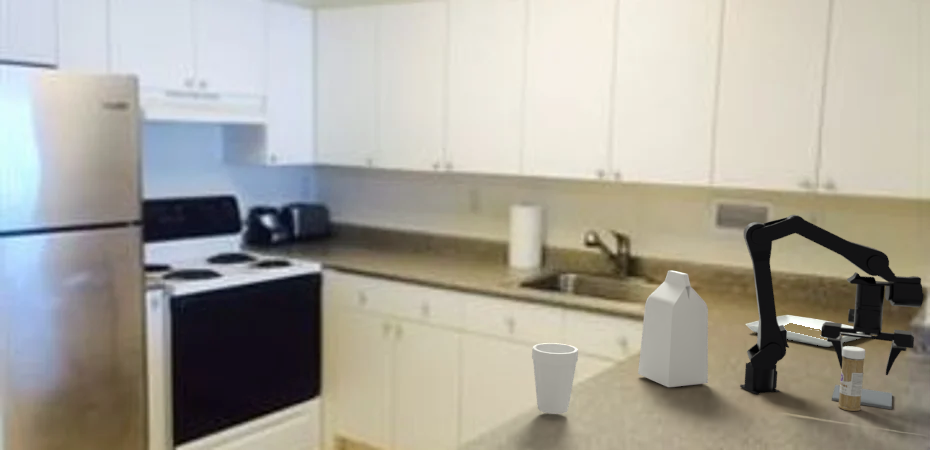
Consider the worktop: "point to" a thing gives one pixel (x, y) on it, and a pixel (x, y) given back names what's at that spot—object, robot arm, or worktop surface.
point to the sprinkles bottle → (851, 378)
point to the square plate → (807, 323)
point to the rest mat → (869, 398)
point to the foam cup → (554, 375)
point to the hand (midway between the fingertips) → (864, 371)
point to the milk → (675, 334)
